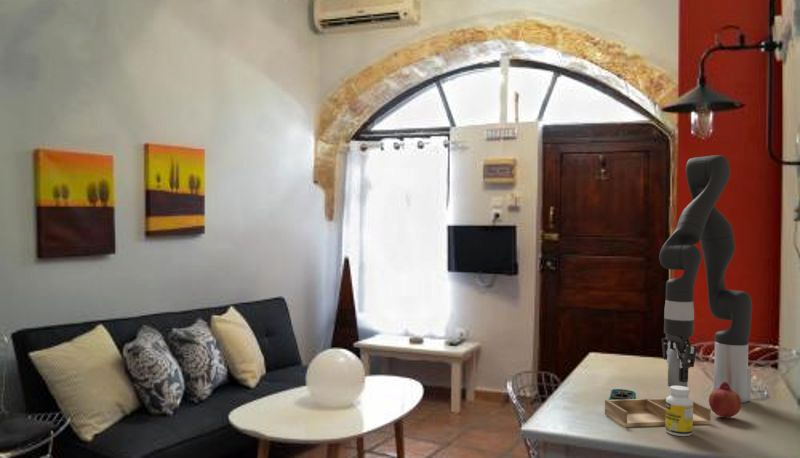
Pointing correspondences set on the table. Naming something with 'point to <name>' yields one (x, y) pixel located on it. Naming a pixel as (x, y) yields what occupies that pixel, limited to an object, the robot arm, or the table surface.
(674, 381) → the grey cylinder
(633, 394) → the digital multimeter
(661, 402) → the divided wooden tray
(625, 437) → the table surface
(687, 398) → the pill bottle
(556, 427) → the table surface
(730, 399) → the fruit
